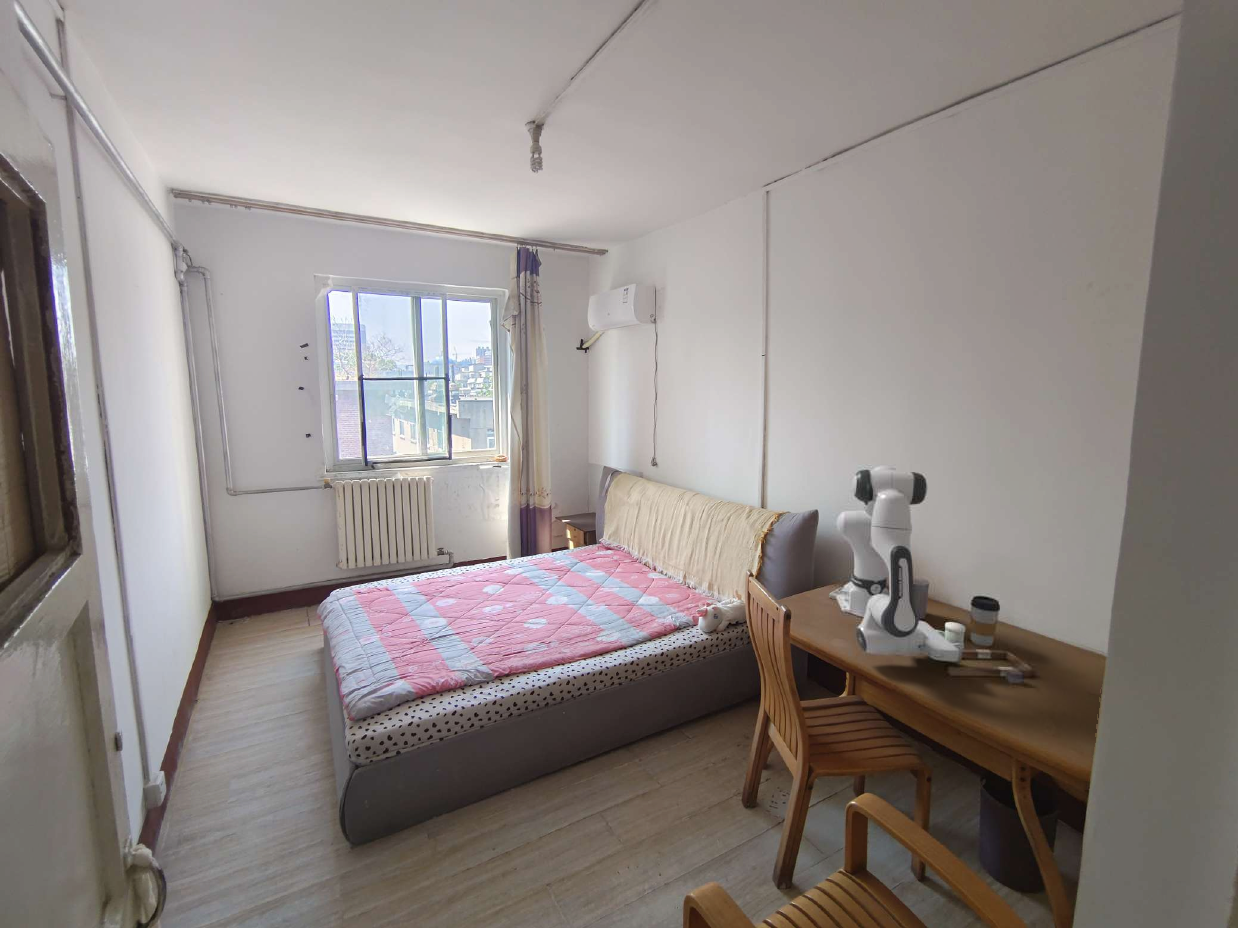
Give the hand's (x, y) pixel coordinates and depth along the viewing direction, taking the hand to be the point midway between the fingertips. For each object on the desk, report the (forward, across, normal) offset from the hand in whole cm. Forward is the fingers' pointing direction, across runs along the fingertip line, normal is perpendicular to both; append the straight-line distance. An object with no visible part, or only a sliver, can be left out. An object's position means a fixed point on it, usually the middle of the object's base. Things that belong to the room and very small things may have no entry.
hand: (956, 640), depth 175 cm
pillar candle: (+6, +39, +9) cm, 40 cm away
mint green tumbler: (-1, 0, +6) cm, 6 cm away
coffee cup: (+18, +16, +8) cm, 25 cm away
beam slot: (+8, -2, +8) cm, 11 cm away
